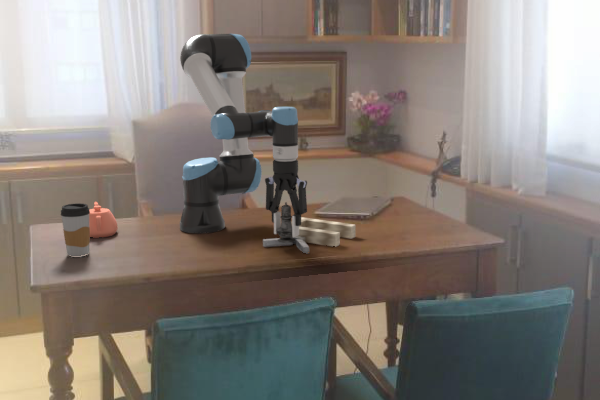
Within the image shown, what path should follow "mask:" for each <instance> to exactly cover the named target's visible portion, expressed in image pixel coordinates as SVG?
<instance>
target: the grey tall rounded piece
mask: <svg viewBox="0 0 600 400" xmlns="http://www.w3.org/2000/svg"><path fill="white" fill-rule="evenodd" d="M291 207H292V206H290V205H289V204H288V202H287V201H286V202H284V205H282V206H281V209H280V212H281V217H280V218H281V227H279V228H277V231H278V236H279V238H280V239H278V241H279V242H282V243H290V242H294V241H295V239H294V238H292V224H291V222H292V216H293V215H292V208H291ZM281 237H282V238H281Z"/></svg>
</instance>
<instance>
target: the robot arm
mask: <svg viewBox="0 0 600 400" xmlns="http://www.w3.org/2000/svg"><path fill="white" fill-rule="evenodd" d="M251 60H252V51H251V47H250V44H249V42H248V40H247V39H246V38H245V37H244V36H243V35H242V34H237V33H216V34H215V33H212V34H211V33H209V34H208V33H202V34H201V33H200V34H197V35H194V36H192V37H190V38H189V39H188V40H187V41H186V42H185V43H184V44H183V47H182V49H181V51H180V59H179V61H180V65H181V68H182V70H183V72H184V74H185V75H186V76H187V77H189V78H191V80H192V82H193V83H194V86H195V87H196V89H197V91H198V93H199V94H200V97H201V98H202V100H203V103H204V104H205V106H206V107H207V109H208V111H209V112H210V115H211V119H210V130H211V134H212V136H213V137H214V139H217V140H222V148H223V149H222V150H223V151H222V152H221V154H219V161H218V159H217V158H216V157H200V158H195V159H192V160H188V161H187V162H186V163H184V164H183V167H182V176H181V178H182V181H183V182H182V185H183V186H182V187H183V209H182V213H181V217H180V221H179V229H180V231H181V232H184V233H188V234H210V233H216V232H220V231H222V230H224V229H225V228H226V224H225V222H226V221H225V219H224V217H223V213H222V210H221V207H220V200H219V199H220V197H221V196H222V197H223V196H230V195H232V196H233V195H238V194H239V195H241V194H242V195H243V194H247V193H253V192H255V191H257V190H258V187H259V186H260V183H261V182H262V181H261V180H262V172H263V171H262V166H261V161H260V160H259V159H258V158H256V157H254V152H253V151H252V150H250V148H249V141H248V138H258V137H259V138H261V137H271V138H272V158H273V161H272V171H273V175H272V176H269V177H266V178H264V182H265V187H266V188H265V189H266V190H265V210H266V211H269V212H271V222H272V223H273V234H274V235H277V234H278V231H277V228H279V227H281V218H280V217H281V209H280V205H281V200H282V198H283V193H284V192H285V191H287V194H288V196H289V199H290V203H291V207H292V210H293V215H291V216H292V218H291V222H292V237H296V236H298V235H299V226H300V225H301V218H302V215H304V214H306V213H307V212H308V205H307V203H308V201H307V185H308V181H307V180H302V179H300V177H299V175H298V173H299V160H298V158H299V145H298V144H299V139H298V138H299V119H298V109H297V108H296V107H295V106H275V107H273V108H272V109H271V110H270V109H265V110H264V109H262V110H259V111H253V112H252V111H251V112H246V107H245V96H244V94H245V93H244V86H243V85H244V84H243V78H244V77H245V75H246V74H247V69H249V67H250V66H251V63H252V62H251ZM274 183H275V184H274ZM278 235H279V234H278Z"/></svg>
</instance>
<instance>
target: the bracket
mask: <svg viewBox="0 0 600 400" xmlns="http://www.w3.org/2000/svg"><path fill="white" fill-rule="evenodd" d="M291 224H292V221H291ZM298 236H300V237H305V240H306V244H307V243H309V244H314V245H315V244H316V245H320V246H326V245H327V247H333V246H335V247H334V248H336V247H338V246H340V244H341V243H340V241H341V238H344V239H354V238H356V224H355V223H354V224H353V223H347V222H340V221H332V220H325V219H318V218H311V217H310V218H309V217H302V216H301V225H300V226H299V235H298ZM280 238H282V237H280Z"/></svg>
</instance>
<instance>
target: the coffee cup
mask: <svg viewBox="0 0 600 400" xmlns="http://www.w3.org/2000/svg"><path fill="white" fill-rule="evenodd" d="M89 209H90V208H89V205H88V204H86V203H80V202H79V203H78V202H77V203H69V204H64V205H63V206H62V207H61V210H60V216H61V222H62V228H63V229H62V230H63V231H62V232H63V235H64V236H63V237H64V243H65V248H66V254H67V255H71V256H81V255H85V254H88V253H90V243H91V242H90V239H91V238H90V227H89V213H90V211H89ZM88 255H89V254H88Z"/></svg>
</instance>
